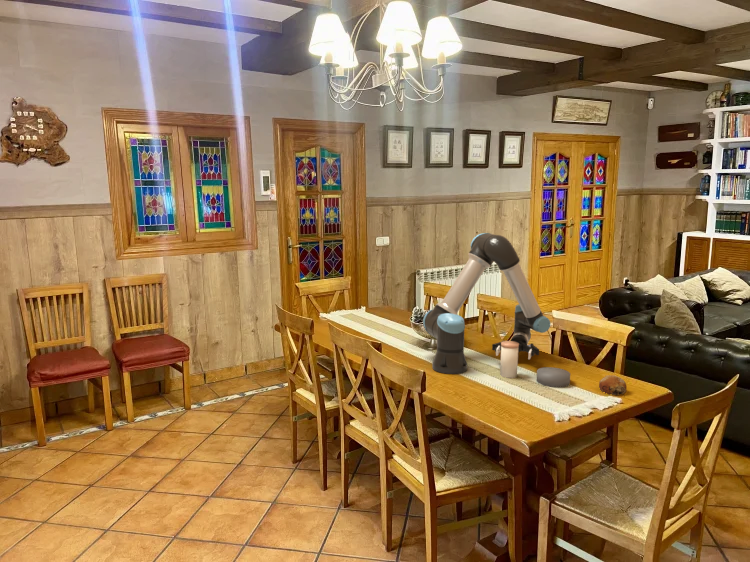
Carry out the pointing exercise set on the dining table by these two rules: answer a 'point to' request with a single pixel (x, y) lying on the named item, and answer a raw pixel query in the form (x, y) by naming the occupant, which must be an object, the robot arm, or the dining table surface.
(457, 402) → the dining table surface
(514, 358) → the canister
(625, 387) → the bread roll
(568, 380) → the plinth
